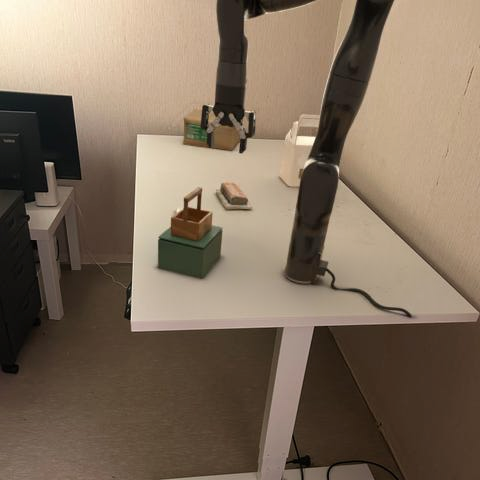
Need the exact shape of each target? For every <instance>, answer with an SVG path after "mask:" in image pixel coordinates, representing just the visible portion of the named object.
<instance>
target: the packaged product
mask: <svg viewBox="0 0 480 480" xmlns="http://www.w3.org/2000/svg"><path fill="white" fill-rule="evenodd" d="M215 193H216V195H217V197H218V199H219V201H220V203H221V205H222V206H223V207H224V208H225V210H250V211H252V208H253V206H252V205H251V204H250V203H249V199H248V197H247V196H246V194H245V193H244V192H243V190H242V189H241V188H240V186H239V185H238V184H237V183H235V182H221V183H220V189H218V188H217V189H215Z"/></svg>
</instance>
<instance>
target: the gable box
mask: <svg viewBox="0 0 480 480" xmlns="http://www.w3.org/2000/svg"><path fill="white" fill-rule="evenodd" d="M319 119H320V114H310V113H309V114H308V113H307V114H306V113H301V114H300V115H299V117H298V120H297V121H292V125H291V128H290V129H289V131H288V133H287V134H286V136H285V137H284V138H285V139H284V143H283V144H284V145H283V150H282V151H283V152H282V157H281V164H280V172H279V178H280V179H281V180H282V181H283V182H284V183H285V184H286V185H287V186H288V187H289V188H290V187H291V188H299V186H300V180H301V175H302V171H303V168H300V167H301V166H300V157H301V156H302V155H304V154H310V151H311V149H312V146H313V143H314V140H315V137H316V135H314V136H313V135H298V134H299V130H300V127H307V128H309V127H310V128H318V126H319Z"/></svg>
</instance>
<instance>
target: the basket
mask: <svg viewBox="0 0 480 480" xmlns="http://www.w3.org/2000/svg"><path fill="white" fill-rule="evenodd" d="M202 196H203V187H200V186H198V187H197V188H195V189H194V190H192V191H191V192H190V193H188V194H187V195H186V196H183V207H182V208H183V209H182V210H180V211H179V212H178V213H177V214H176V213H175V214H174V215H172V216H171V217H170V227H171V236H176V237H180V238H184V239H189V240H193V241H197V242H198V241H200V240H201V239H202V238H203V237H204V236H205V235H206V234H207V233H208V232H209V231H210V230H211V229H212V225H213V213H214V212H213V211H210V210H205V209H202ZM196 197H197V198H196ZM195 198H196V207H192V206H189V203H190V202H191V201H193V200H194V199H195Z"/></svg>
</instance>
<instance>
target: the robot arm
mask: <svg viewBox="0 0 480 480" xmlns="http://www.w3.org/2000/svg"><path fill="white" fill-rule="evenodd" d="M318 1H319V0H216V3H215V4H216V6H215V7H216V8H215V11H216V14H215V15H216V24H217V31H218V40H219V43H218V54H217V55H218V57H217V66H216V73H215V90H214V91H215V92H214V105H210V103H206V104H203V105H202V106H201V110H202V116H201V126H200V127H201V129H204V130H205V131H206V132H207V145H209V147H208V148H209V149H214V148H213V146H214V132H213V131H214V130H215V129H216V127H217V126H218V125H219V124H220V125H221V126H228V127H232V128H233V127H235V128H236V130H237V131H238V132H239V134H240V136H241V137H240V140H239V149H238V154H241V155H242V154H244V153H245V151H246V150H247V144H248V139H250V138H253V137H254V136H255V135H256V126H257V125H256V123H257V112H256V111H255V110H252V111H248V110H246V109H245V105H246V104H245V102H246V90H247V83H248V56H249V43H250V42H249V38H248V36H247V35H246V34H245V21H248V20H252V19H256V18H259V17H262V16H265V15H267V14H274V13H275V14H276V13H280V12H281V13H282V12H286V11H289V10H294V9H298V8H302V7H304V6H307V5H310V4H312V3H316V2H318ZM394 2H395V0H355V4H354V9H353V13H352V17H351V20H350V23H349V25H348V28H347V30H346V33H345V34H344V36H343V38H342V41H341V42H340V45H339V47H338V48H337V51H336V53H335V55H334V58H333V60H332V63H331V66H330V70H329V72H328V77H327V79H326V84H325V86H324V87H325V88H324V92H323V95H322V101H321V105H320V112H319V115H320V119H319V126H318V127H317V131H316V134H315V140H314V143H313V146H312V149H311V151H310V153H308V155H307V159H306V161H305V163H304V165H303V167H302V169H303V171H302V175H301V180H300V186H299V187H298V192H297V198H296V205H295V211H294V218H293V221H292V222H293V223H292V229H291V234H290V241H289V246H288V251H287V257H286V264H285V268H284V277H285V278H286V279H287V280H288V281H291V282H294V283H296V284H301V285H308V284H309V285H310V284H311V285H315V284H316V282H317V280H318V276H320V277H325V275H326V274H329V275H330V277H331V281H330V287H331V288H332V289H333V290H334V291H344V292H357V293H360V294H363V295H364V296H365V297H366V298H367V299H368V300H369V302H371V303H372V304H373V305H374V306H375V307H377V308H379V309H382V310H386V311H395V312H397V311H398V312H401V313H403V314H405V315H406V316H407V317H408V318H410V319H412V318H413V316H412V314H411V312H409V310H407V309H405V308H403V307H398V306H397V307H396V306H387V305H386V306H385V305H382V304H380V303H378V302H377V301H376V300H374V298H372V297H371V295H370V294H369V293H368V292H367V291H365V290H363V289H361V288H355V287H350V288H339V287H336V286H335V285H334V284H335V282H336V276H335V274H334V273H333V271H331V270H330V269H329V268H328V266H329V261H328V260H324V259H323V254H324V250H325V243H326V238H327V235H328V234H327V233H328V229H329V224H330V220H331V215H332V214H333V213H332V212H333V209H334V204H335V201H336V196H337V191H338V187H339V182H340V165H341V160H342V156H343V152H344V147H345V143H346V140H347V137H348V135H349V133H350V131H351V129H352V126H353V125H354V123H355V120H356V119H357V117H358V114H359V112H360V110H361V108H362V105H363V102H364V100H365V96H366V94H367V90H368V87H369V85H370V81H371V78H372V74H373V71H374V67H375V63H376V60H377V55H378V52H379V47H380V44H381V39H382V35H383V33H384V28H385V26H386V22H387V20H388V17H389V14H390V12H391V10H392V7H393V6H394ZM212 111H213V113H214V115H215V117H216V118H215V120H214V121H213V122H212V123H211V125H210V126H209V125H208V121H209V114H211V112H212ZM244 118H246V121H247V122H248V128H247V129H246V126H245V124H244V121H243V122H242V119H243V120H244Z"/></svg>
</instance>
